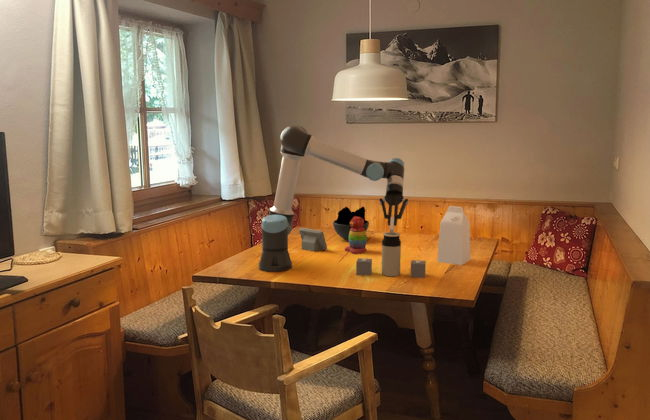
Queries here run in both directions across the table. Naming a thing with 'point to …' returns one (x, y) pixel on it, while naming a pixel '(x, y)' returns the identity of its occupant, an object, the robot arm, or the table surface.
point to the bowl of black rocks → (348, 221)
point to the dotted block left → (363, 266)
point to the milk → (454, 237)
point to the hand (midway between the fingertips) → (391, 231)
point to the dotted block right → (418, 268)
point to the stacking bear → (357, 236)
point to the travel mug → (391, 254)
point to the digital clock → (312, 239)
